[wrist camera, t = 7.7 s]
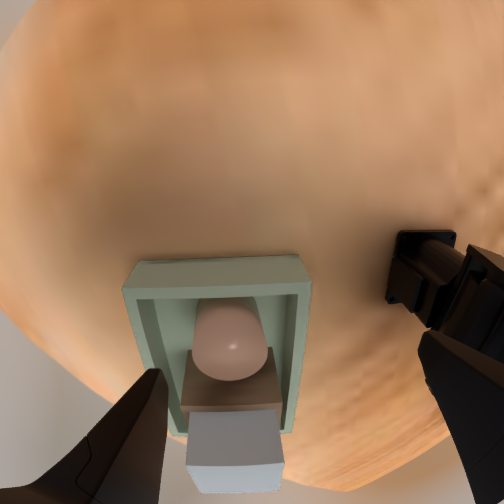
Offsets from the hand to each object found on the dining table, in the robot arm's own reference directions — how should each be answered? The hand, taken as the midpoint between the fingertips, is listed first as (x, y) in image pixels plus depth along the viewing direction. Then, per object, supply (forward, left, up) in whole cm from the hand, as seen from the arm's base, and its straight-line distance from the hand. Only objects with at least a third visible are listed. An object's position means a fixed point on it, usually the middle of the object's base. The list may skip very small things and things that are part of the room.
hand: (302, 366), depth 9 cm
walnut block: (+3, +13, -12) cm, 18 cm away
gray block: (+3, +13, -6) cm, 15 cm away
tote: (+3, +10, -13) cm, 16 cm away
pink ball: (+3, +6, -12) cm, 13 cm away
